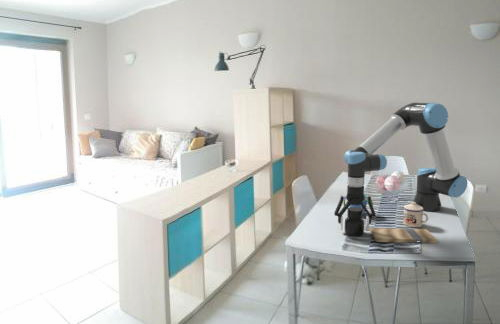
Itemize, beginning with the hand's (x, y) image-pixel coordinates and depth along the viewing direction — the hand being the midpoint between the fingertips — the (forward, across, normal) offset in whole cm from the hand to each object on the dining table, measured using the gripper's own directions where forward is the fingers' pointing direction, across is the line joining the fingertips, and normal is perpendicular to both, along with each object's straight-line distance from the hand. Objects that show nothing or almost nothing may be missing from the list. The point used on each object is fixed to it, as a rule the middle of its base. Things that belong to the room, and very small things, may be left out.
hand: (354, 229), depth 176 cm
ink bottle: (+2, 0, 0) cm, 2 cm away
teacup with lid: (+2, +32, +12) cm, 34 cm away
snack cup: (+2, +7, +29) cm, 30 cm away
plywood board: (+2, +21, -4) cm, 21 cm away
